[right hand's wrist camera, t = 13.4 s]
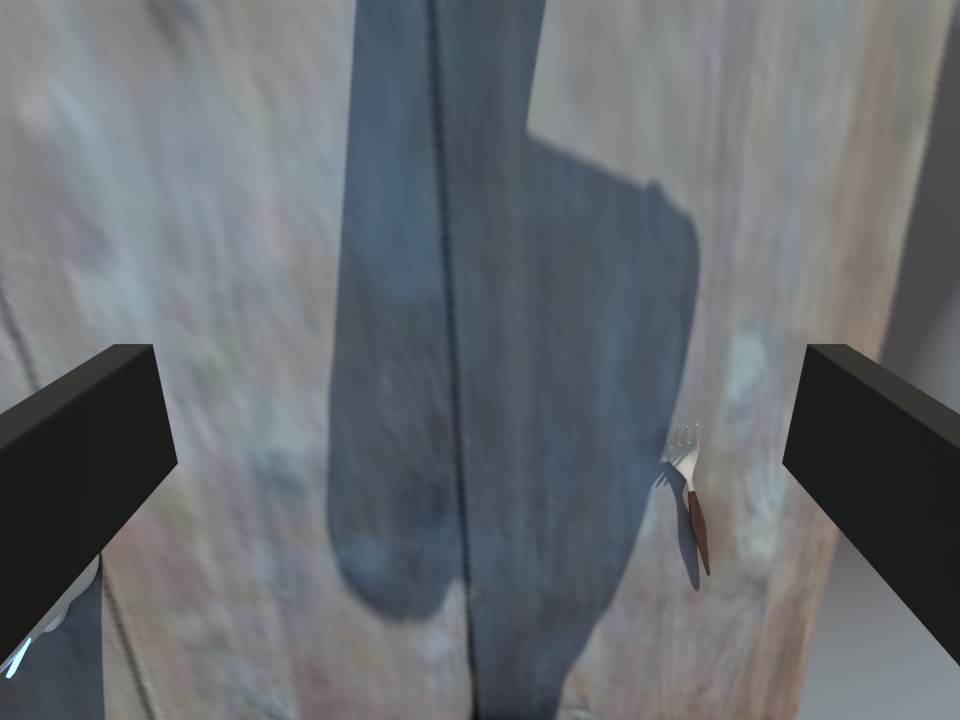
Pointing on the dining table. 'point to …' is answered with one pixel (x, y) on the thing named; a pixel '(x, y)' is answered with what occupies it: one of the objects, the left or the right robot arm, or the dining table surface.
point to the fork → (690, 486)
